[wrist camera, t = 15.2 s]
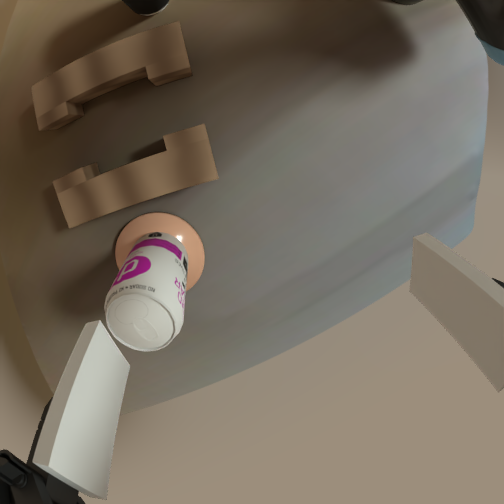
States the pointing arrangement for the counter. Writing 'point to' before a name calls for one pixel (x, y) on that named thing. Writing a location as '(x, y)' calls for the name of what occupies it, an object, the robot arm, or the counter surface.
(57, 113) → the walnut caddy
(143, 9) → the dixie cup
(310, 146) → the counter surface
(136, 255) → the supplement can
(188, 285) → the peach smooth rounded piece
